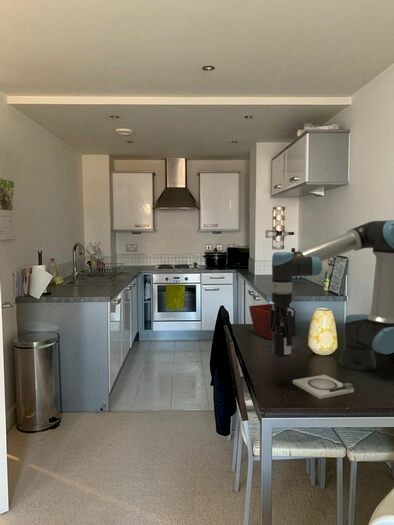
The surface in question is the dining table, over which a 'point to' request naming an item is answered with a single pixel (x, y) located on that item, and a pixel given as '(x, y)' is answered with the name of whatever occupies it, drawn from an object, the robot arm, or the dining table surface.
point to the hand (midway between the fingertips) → (281, 350)
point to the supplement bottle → (279, 341)
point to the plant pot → (262, 319)
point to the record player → (323, 386)
